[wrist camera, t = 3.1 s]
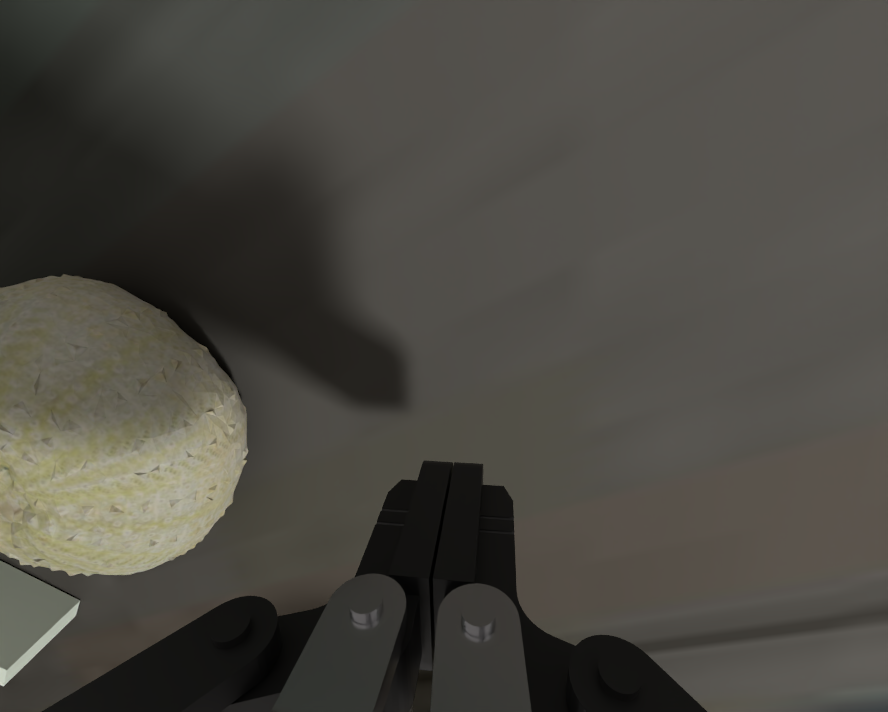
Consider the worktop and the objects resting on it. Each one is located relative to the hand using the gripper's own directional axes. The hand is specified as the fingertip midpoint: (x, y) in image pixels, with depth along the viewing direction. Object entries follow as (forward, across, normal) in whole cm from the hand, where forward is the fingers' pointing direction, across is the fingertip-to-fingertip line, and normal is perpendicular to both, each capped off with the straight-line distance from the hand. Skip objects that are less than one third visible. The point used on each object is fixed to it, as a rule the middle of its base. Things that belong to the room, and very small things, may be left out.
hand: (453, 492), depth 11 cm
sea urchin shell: (+3, +11, -1) cm, 12 cm away
